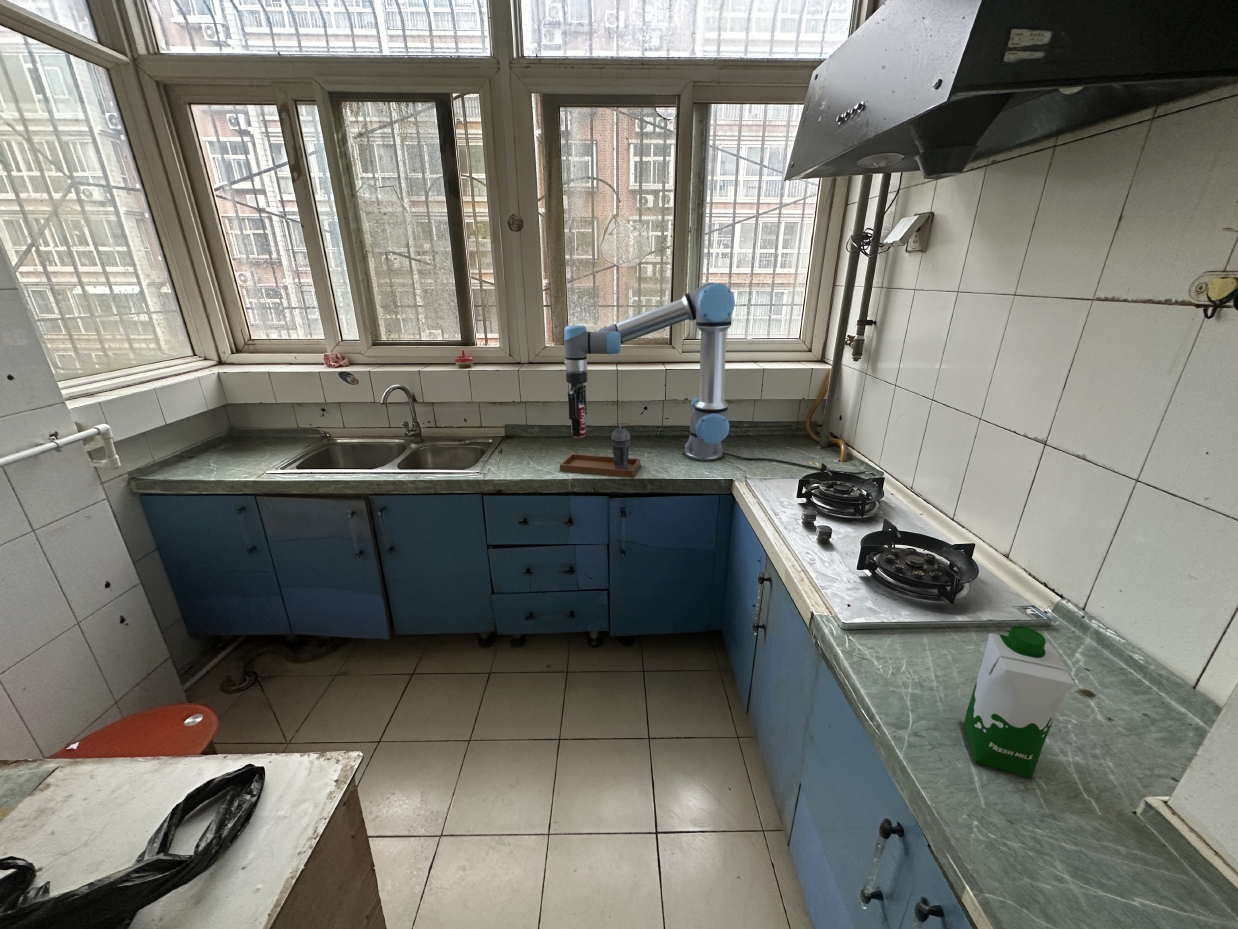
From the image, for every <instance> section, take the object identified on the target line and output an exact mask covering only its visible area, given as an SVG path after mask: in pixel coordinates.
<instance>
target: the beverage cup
mask: <svg viewBox="0 0 1238 929" xmlns="http://www.w3.org/2000/svg"><path fill="white" fill-rule="evenodd" d="M618 419H619V427H617V428H615V429H614V430H613V431H612V433H611V435H610V442H611V446H612V453H613V454H612V455H613V456H612V457H614V465H615V469H624V470H626V469H627V465H628V458H629V452H630V444H631V435H630V432H629V431H628V429H626V428H624V427H622V417H621V416H619V418H618Z"/></svg>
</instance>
